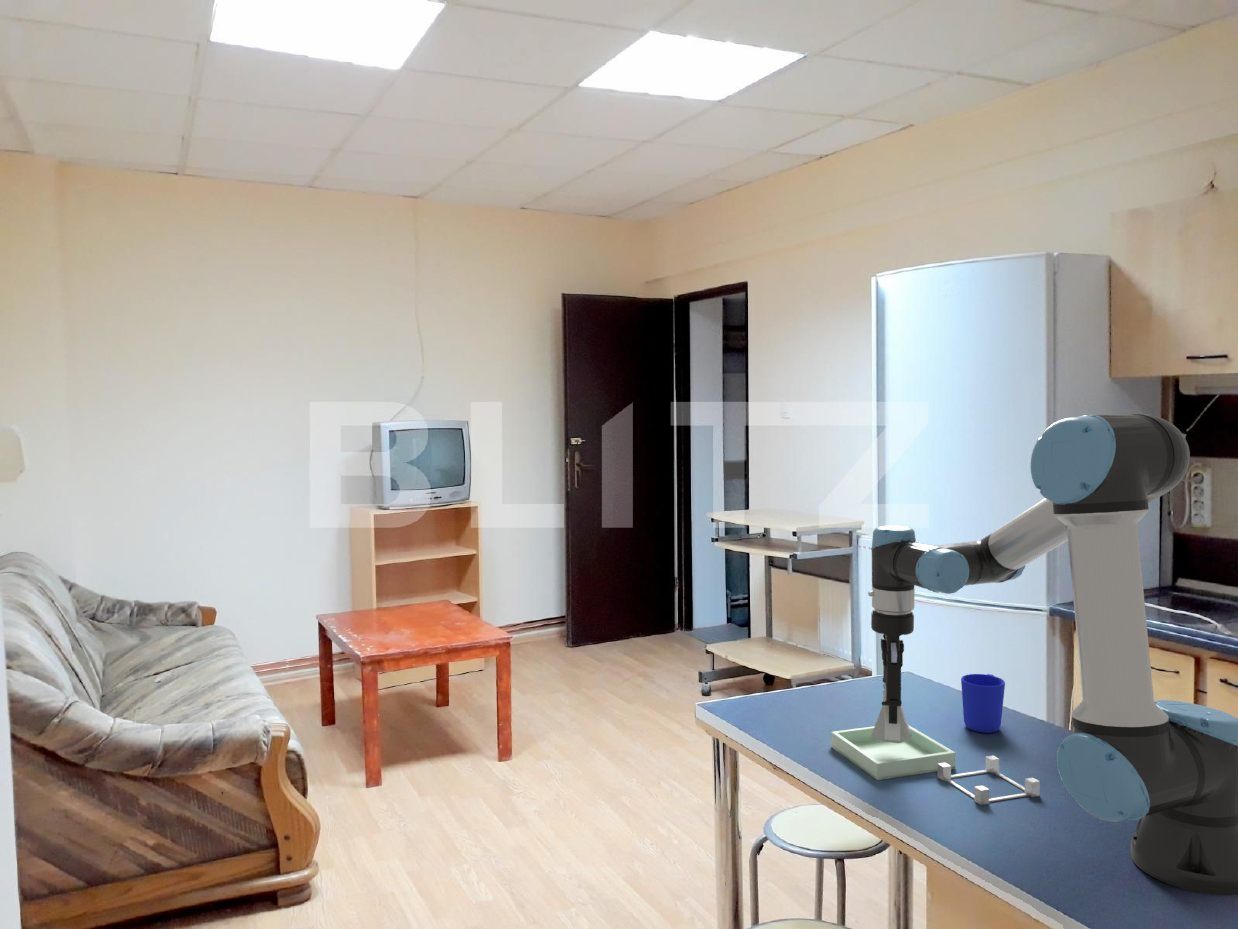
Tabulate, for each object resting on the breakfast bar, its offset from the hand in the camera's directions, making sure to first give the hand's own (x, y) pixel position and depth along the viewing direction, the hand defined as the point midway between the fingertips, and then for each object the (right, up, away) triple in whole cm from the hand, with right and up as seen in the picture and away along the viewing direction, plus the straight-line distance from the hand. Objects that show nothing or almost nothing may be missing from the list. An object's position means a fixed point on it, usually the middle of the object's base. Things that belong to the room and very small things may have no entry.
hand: (891, 731), depth 170 cm
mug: (+24, -4, +16) cm, 29 cm away
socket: (+13, -6, -13) cm, 19 cm away
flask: (0, -1, 0) cm, 1 cm away
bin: (0, -5, 0) cm, 5 cm away
